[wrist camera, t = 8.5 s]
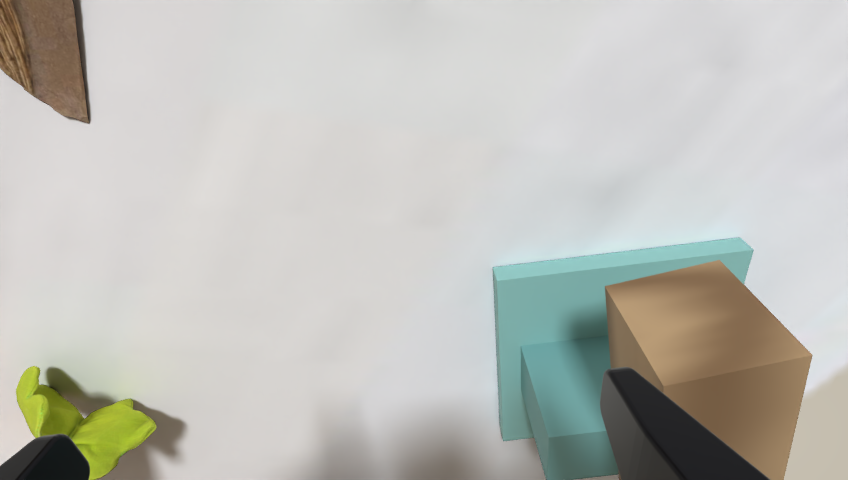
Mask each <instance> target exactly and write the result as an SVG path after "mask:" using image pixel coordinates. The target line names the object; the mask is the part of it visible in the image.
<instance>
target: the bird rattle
mask: <svg viewBox="0 0 848 480" xmlns="http://www.w3.org/2000/svg"><path fill="white" fill-rule="evenodd" d="M39 375H40V369H39V368H38V367H35V366H32V367H30V368H28V369H27V370H26V371H25V372H24V373H23V375H22V376H21V379H20V381H19V384H18V386H17V389H16V395H17V402H18V404H19V407H20V409H21V411H22V413H23V415H24V417H25V419H26V422H27V424H28V426H29V429H30V431H31V432H32V434H33V435H34V437H35V438H38V437H41V436H46V435H54V434H65V435H67V436H69V437H70V438H71V439H72V441H73V442H74V443H75V445H76V446H77V447H78V449H79V450H80V451H81V452H82V454H83V455H84V456H85V458H86V459H87V460H88V462H89V465H90V476H89V480H96V479H99V478H101V477H103V476H105V475H106V474H108V473H109V472H110V471H111V470H113V469H114V468H115V467H116V466H117V464H118V461H119V458H120V457H121V456H122V455H123V454H124V453H126V452H127V451H129V450H131V449H134V448H136V447H137V446H138V445H140V444H141V443H142V442H143V441H145V440H146V439H147V438H148V437H149V436H150V435H151V434H152V433H153V432H154V431H155V429H156V427H157V426H156V424H155V421H154V420H152V419H151V418H150V417H149V416H147V415H146V414H144V413H142V412H141V411H137V410H134V409H133V401H132V399H125V400H122V401H118V402H116V403H115V404H113V405H110V406H107V407H103V408H101V409H98V410H96V411H94V412H92V413H90V415H89V416H88V417H86V418H85V419H84V418H83V416H82V415H81V414H80V412H79V411H78V409H77V408H76V407H75V406H73V405H72V404H71V403H70V402H69V401H67V400H66V399H64V398H63V397H62V396H61V395H60V394H59V393H58V392H57V391H56V390H54V389H52V388H50V387H48V386H45V385H39V379H38V377H39Z"/></svg>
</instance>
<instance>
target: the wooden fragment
mask: <svg viewBox="0 0 848 480" xmlns="http://www.w3.org/2000/svg"><path fill="white" fill-rule="evenodd" d="M80 63H81V60H80V53H79V46H78V39H77V29H76V18H75V12H74V6H73V1H72V0H0V68H1V70H2V71H3V72H5V73H6V74H7V75H8V76H9V77H11V78H12V79H13V80H14V81H16V82H17V83H18V84H20V85H21V86H23V87H24V90H26V91H27V92H28V93H30V94H31V95H32V96H34V97H36V98H38V99H39V100H41V101H43V102H45V103H46V104H48V105H50V106H51V107H52V108H53V109H54V110H55V111H57V112H58V113H60V114H61V115H63V116H68V117H73V118H76V119H78V120H81V121H84V122H87V123H89V120H88V117H87V108H86V99H85V89H84V81H83V75H82V68H81V64H80Z"/></svg>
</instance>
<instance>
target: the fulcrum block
mask: <svg viewBox="0 0 848 480" xmlns="http://www.w3.org/2000/svg"><path fill="white" fill-rule="evenodd" d="M753 251H754V250H753V249H752V248H751V247H750V246H749V245H748V244H747V243H746V242H744V241H743V240H742V239H741V238H731V239H723V240H715V241H707V242H698V243H690V244H682V245H673V246H665V247H657V248H649V249H640V250H632V251H624V252H616V253H607V254H599V255H591V256H582V257H574V258H566V259H558V260H549V261H541V262H533V263H525V264H516V265H508V266H500V267H493V281H494V304H495V327H496V350H497V373H498V396H499V419H500V429H501V434H502V438H503V441H510V440H518V439H527V438H535V441H536V445H537V449H538V452H539V456H540V459H541V463H542V466H543V470H544V474H545V477H546V480H574V479H582V478H591V477H600V476H608V475H617V474H619V472H618V467H617V464H616V460H615V457H614V454H613V451H612V447H611V444H610V441H609V438H608V434H607V431H606V428H605V425H604V421H603V418H602V415H601V409H600V397H601V389H602V380H603V374H604V372H605V370H607V369H611V364H610V351H609V337H608V324H607V310H606V297H605V286H608V285H612V284H616V283H621V282H625V281H629V280H634V279H638V278H643V277H647V276H651V275H656V274H660V273H664V272H669V271H673V270H677V269H682V268H686V267H691V266H695V265H699V264H704V263H708V262H712V261H717V260H720V261H721V262H722V263H723V264H724V265H725V266H726V267H727V268H728V269H729V270H730V271H731V272H732V273H733V274H734V275H735V276H736V277H737V278H738V279H739V280H740V281H741V282H742V283H743V284H744V281H745V278H746V275H747V271H748V268H749V264H750V261H751V257H752V254H753Z"/></svg>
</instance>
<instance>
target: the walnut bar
mask: <svg viewBox="0 0 848 480" xmlns="http://www.w3.org/2000/svg"><path fill="white" fill-rule="evenodd" d="M605 297H606V310H607V324H608V337H609V351H610V364H611V368H619V367H630V368H632V369H634V370H635V371H636V372H638V373H639V374H640V375H641V376H643V377H644V378H645V379H646V380H648V381H649V382H650V383H651V384H653V385H654V386H655V387H656V388H658V389H659V390H660V391H661V392H663V393H664V394H665V395H666V396H667V397H669V398H670V399H671V400H672V401H674V402H675V403H676V404H677V405H679V406H680V407H681V408H682V409H684V410H685V411H686V412H687V413H689V414H690V415H691V416H692V417H694V418H695V419H696V420H697V421H699V422H700V423H701V424H702V425H703V426H705V427H706V428H707V429H708V430H710V431H711V432H712V433H713V434H715V435H716V436H717V437H718V438H720V439H721V440H722V441H723V442H725V443H726V444H727V445H728V446H730V447H731V448H732V449H733V450H735V451H736V452H737V453H738V454H739V455H741V456H742V457H743V458H744V459H746V460H747V461H748V462H749V463H751V464H752V465H753V466H754V467H756V468H757V469H758V470H759V471H761V472H762V473H763V474H764V475H766V476H767V477H768V478H769V479H771V480H784V475H785V471H786V466H787V462H788V458H789V454H790V449H791V445H792V441H793V436H794V432H795V428H796V424H797V419H798V415H799V411H800V406H801V402H802V398H803V393H804V389H805V385H806V380H807V376H808V372H809V368H810V363H811V359H812V354H811V353H810V352H809V351H808V350H807V349H806V348H805V347H804V346H803V345H802V344H801V343H800V342H799V341H798V340H797V339H796V338H795V337H794V336H793V335H792V334H791V333H790V332H789V331H788V330H787V329H786V328H785V327H784V325H783V324H782V323H781V322H780V321H779V320H778V319H777V318H776V317H775V316H774V315H773V314H772V313H771V312H770V311H769V310H768V309H767V308H766V307H765V306H764V305H763V304H762V303H761V302H760V301H759V300H758V299H757V298H756V297H755V296H754V295H753V294H752V293H751V292H750V291H749V290H748V289H747V287H746V286H745V285H744V284H743V283H742V282H741V281H740V280H739V279H738V278H737V277H736V276H735V275H734V274H733V273H732V272H731V271H730V270H729V269H728V268H727V267H726V266H725V265H724V264H723V263H722V262H721V261H720V260H717V261H712V262H708V263H704V264H699V265H695V266H691V267H686V268H682V269H677V270H673V271H669V272H664V273H660V274H656V275H651V276H647V277H643V278H638V279H634V280H629V281H625V282H621V283H616V284H612V285H608V286H605ZM618 472H619V470H618ZM619 480H621V477H620V473H619Z"/></svg>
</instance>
